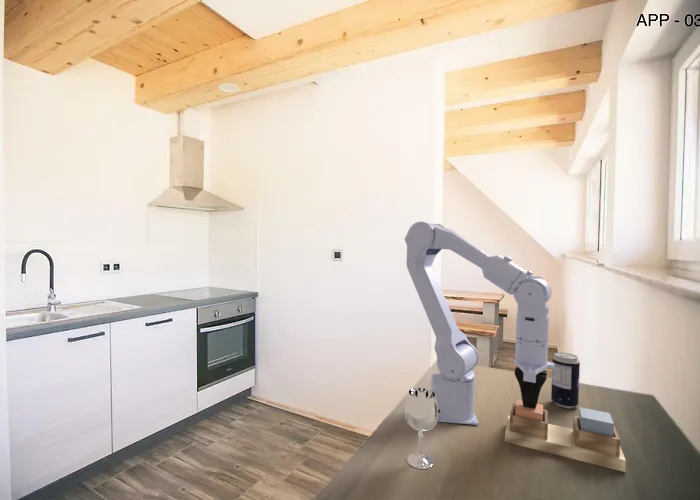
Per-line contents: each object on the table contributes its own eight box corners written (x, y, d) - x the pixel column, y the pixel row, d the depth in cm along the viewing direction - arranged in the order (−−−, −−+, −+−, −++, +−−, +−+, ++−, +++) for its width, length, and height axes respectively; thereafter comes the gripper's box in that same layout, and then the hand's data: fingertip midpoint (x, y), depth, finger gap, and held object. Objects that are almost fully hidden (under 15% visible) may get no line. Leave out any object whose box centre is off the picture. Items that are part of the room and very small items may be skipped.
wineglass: (413, 448, 68) (415, 384, 68) (442, 460, 65) (444, 392, 65) (396, 462, 64) (398, 393, 64) (427, 475, 60) (429, 403, 60)
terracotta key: (514, 423, 72) (515, 408, 72) (516, 413, 76) (516, 399, 76) (542, 429, 70) (543, 414, 70) (542, 419, 74) (543, 404, 74)
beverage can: (582, 411, 86) (584, 360, 86) (555, 408, 87) (557, 357, 87) (572, 401, 92) (574, 353, 91) (547, 398, 93) (549, 351, 92)
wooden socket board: (504, 441, 72) (505, 416, 72) (508, 424, 79) (509, 401, 79) (625, 472, 63) (626, 442, 63) (617, 449, 70) (618, 423, 70)
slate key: (581, 433, 67) (581, 417, 67) (578, 422, 71) (579, 407, 71) (613, 440, 65) (613, 423, 65) (609, 428, 69) (609, 413, 69)
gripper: (555, 350, 65) (553, 427, 65) (554, 333, 77) (551, 398, 78) (512, 344, 68) (509, 417, 68) (517, 329, 81) (515, 391, 81)
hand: (529, 406), depth 73 cm, fingers closed, pressing on terracotta key
